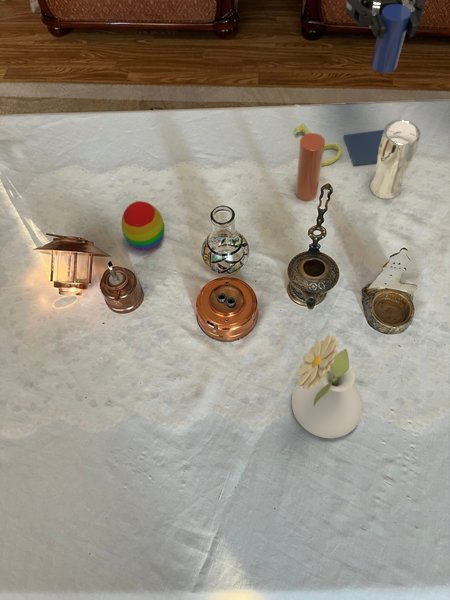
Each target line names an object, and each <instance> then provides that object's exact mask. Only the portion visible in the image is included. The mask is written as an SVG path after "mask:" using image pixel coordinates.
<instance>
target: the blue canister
mask: <svg viewBox="0 0 450 600" xmlns="http://www.w3.org/2000/svg"><path fill="white" fill-rule="evenodd" d="M410 14H411V12H410V10H409V8H407V7H406V6H404V5H400V4H391V5H388V6H386V7H385V8H384V9H383V11H382V15H381V18H382V20H383V22H384V25H385V34H384V38H383V39H380V40H379V39H378V37H376V39H375V44H374V49H373V54H372V57H371V62H370V66H371V68H372V70H374V71H375V72H378V73H381V74H389V73H392V72H394V71H395V70H396V69H397V67H398V64H399V59H400V55H401V53H402V48H403V44H404V41H405V37H406V33H407V30H406V29H407V26H408V22H409V18H410Z"/></svg>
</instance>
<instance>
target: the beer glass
mask: <svg viewBox="0 0 450 600" xmlns="http://www.w3.org/2000/svg"><path fill="white" fill-rule="evenodd" d="M383 130H384V132H383V135H382V137H381V140H380V143H379V147H378V151H377V163H376V166H375V167H376V168H375V174H374V177H373V178H372V180H371V181H370V185H369V186H370V187H369V189H370V192H371V193H372V194H373V195H374V196H376V197H377V198H380V199H383V200H389V199H394V198H395V197H397V196H398V195H399V194H400V192H401V186H402V180H403V178H404V176H405V174H406V172H407V171H408V169H409V168H410V166H411V164H412V162H413V160H414V159H415V156H416V153H417V151H418V147H419V142H420V138H421V130H420V128H419V127H418V126H417V124H415V123H414V122H411V121H409V120H406V119H396V120H392V121H390V122H389V123H387V124H386V125H385V127H384V128H383Z"/></svg>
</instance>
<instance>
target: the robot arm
mask: <svg viewBox="0 0 450 600" xmlns="http://www.w3.org/2000/svg"><path fill="white" fill-rule="evenodd" d="M391 4H400V5H404V6H406V7H407V8H409V10H410V12H411V14H410V18H409V22H408V26H407V29H406V33H407V35H408V37H409V38H411V37H415V35H416V34H417V32H418V28H419V24H420V21H421V20H422V15H423V11H424V10H425V0H346V6H345V12H346V13H347V14H348V15H349V16H350V18H351V19H352V20H353V21H354V22H355V24H356V25H357V26H358V27H360V28H363V27H365V26H366V25H367V26H368V27H369V28H370V29H371V32H372V34H373V36H374V37H375V38H377V37H378V39H379V40H380V39H383V38H384V34H385V25H384V22H383V20H382V18H381V15H382V11H383V9H384V8H385V7H386V6H388V5H391ZM368 11H369V12H368Z"/></svg>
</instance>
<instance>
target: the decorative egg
mask: <svg viewBox="0 0 450 600" xmlns="http://www.w3.org/2000/svg"><path fill="white" fill-rule="evenodd" d="M121 230H122V231H121V232H122V234H123V236H124V238H125V240H126V241H127V243H129V245H130V246H132V247H133V248H136V249H138V250H142V251H143V250H145V251H146V250H151V249H154V248H155V247H156V246H158V245H159V244H160V243H161V241H162V240H163V238H164V234H165V221H164V218H163V216H162V215H161V213H160V212H159V210H158V209H157V207H155V206H154V205H153V204H151V203H149V202H146V201H142V200H140V201H134V202H132V203H130V204H129V205H128V206H127V207H126V208H125V210H124V211H123V214H122V217H121Z"/></svg>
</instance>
